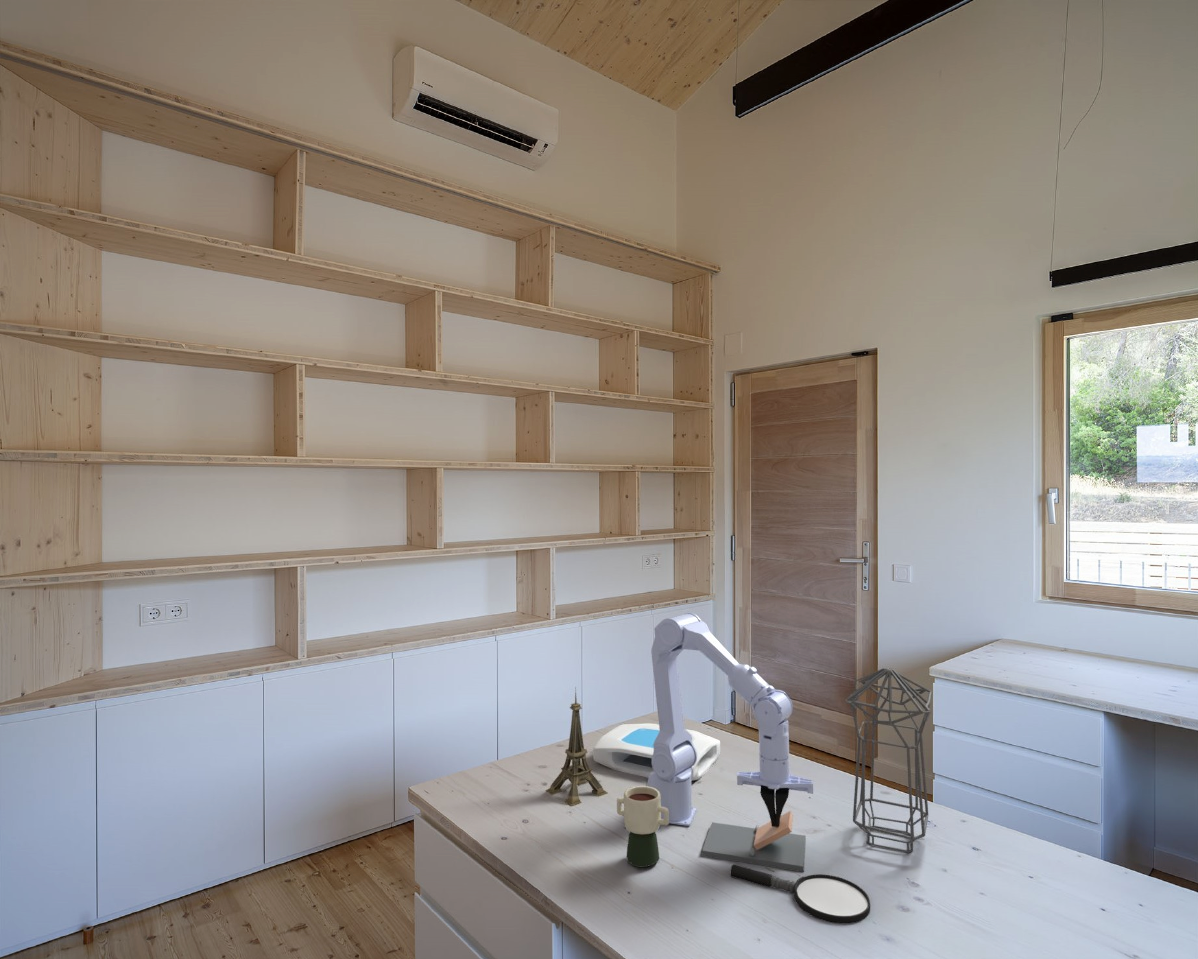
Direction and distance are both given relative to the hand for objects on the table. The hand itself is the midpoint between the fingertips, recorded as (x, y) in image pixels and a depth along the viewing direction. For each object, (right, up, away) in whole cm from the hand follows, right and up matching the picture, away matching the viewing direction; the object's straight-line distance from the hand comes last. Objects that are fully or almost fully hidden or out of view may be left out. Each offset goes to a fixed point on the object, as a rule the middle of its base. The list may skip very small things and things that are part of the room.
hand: (775, 824), depth 134 cm
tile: (-1, -1, 0) cm, 1 cm away
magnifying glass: (0, -6, -14) cm, 15 cm away
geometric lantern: (+24, -5, +3) cm, 25 cm away
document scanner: (-19, -7, +46) cm, 50 cm away
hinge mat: (-4, -5, +1) cm, 7 cm away
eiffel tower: (-40, -7, +28) cm, 49 cm away
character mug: (-26, -6, -3) cm, 27 cm away
